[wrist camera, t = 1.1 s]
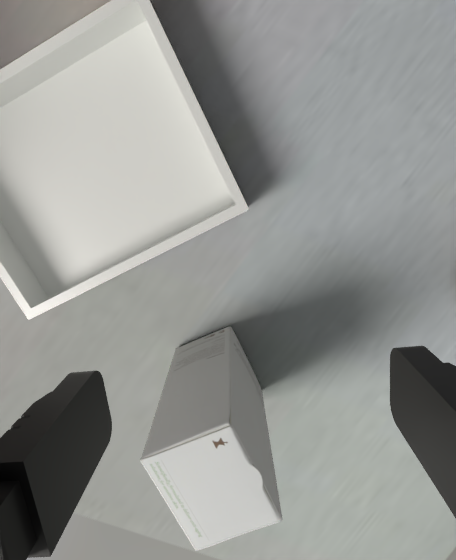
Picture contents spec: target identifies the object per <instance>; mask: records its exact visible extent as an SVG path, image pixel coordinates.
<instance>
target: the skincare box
mask: <svg viewBox="0 0 456 560" xmlns="http://www.w3.org/2000/svg"><path fill="white" fill-rule="evenodd" d="M140 461H141V463H142V464H143V466H144V468H145V469H146V471H147V472H148V474H149V475H150V477H151V479H152V480H153V482H154V484H155V485H156V487H157V488H158V490H159V492H160V493H161V495H162V497H163V498H164V500H165V501H166V503H167V505H168V506H169V508H170V510H171V511H172V513H173V515H174V516H175V518H176V520H177V521H178V523H179V524H180V526H181V528H182V529H183V531H184V533H185V534H186V536H187V537H188V539H189V541H190V542H191V544H192V546H193V547H194V549H195V550H196V551H198V550H200V549H204V548H207V547H210V546H212V545H215V544H218V543H221V542H223V541H226V540H228V539H231V538H234V537H237V536H239V535H242V534H245V533H248V532H251V531H254V530H257V529H260V528H263V527H266V526H269V525H272V524H275V523H278V522H281V521H282V514H281V508H280V502H279V495H278V489H277V483H276V476H275V470H274V464H273V458H272V452H271V445H270V439H269V433H268V427H267V421H266V415H265V408H264V401H263V394H262V389H261V386H260V384H259V382H258V380H257V378H256V376H255V373H254V371H253V369H252V367H251V365H250V363H249V361H248V359H247V357H246V355H245V353H244V351H243V349H242V347H241V345H240V343H239V340H238V339H237V337H236V335H235V333H234V331H233V329H232V327H230V326H229V327H226V328H224V329H222V330H219V331H217V332H214V333H212V334H209V335H207V336H205V337H202V338H200V339H197V340H195V341H193V342H190V343H188V344H186V345H183V346H181V347H178V348H176V350H175V353H174V356H173V359H172V362H171V365H170V369H169V372H168V375H167V378H166V381H165V384H164V388H163V391H162V394H161V397H160V400H159V403H158V407H157V410H156V413H155V416H154V419H153V422H152V425H151V429H150V432H149V435H148V439H147V442H146V444H145V448H144V451H143V454H142V457H141V459H140Z"/></svg>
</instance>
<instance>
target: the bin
mask: <svg viewBox="0 0 456 560" xmlns="http://www.w3.org/2000/svg"><path fill="white" fill-rule="evenodd" d="M248 210H249V208H248V205H247V203H246V201H245V199H244V197H243V195H242V193H241V191H240V189H239V187H238V184H237V182H236V180H235V178H234V176H233V174H232V172H231V170H230V168H229V166H228V163H227V161H226V159H225V157H224V155H223V153H222V151H221V149H220V147H219V145H218V142H217V140H216V138H215V136H214V134H213V132H212V130H211V128H210V126H209V124H208V121H207V119H206V117H205V115H204V113H203V111H202V109H201V107H200V105H199V103H198V100H197V98H196V96H195V94H194V92H193V90H192V88H191V86H190V84H189V82H188V79H187V77H186V75H185V73H184V71H183V69H182V67H181V65H180V63H179V61H178V58H177V56H176V54H175V52H174V50H173V48H172V46H171V44H170V42H169V40H168V37H167V35H166V33H165V31H164V29H163V27H162V25H161V23H160V21H159V19H158V16H157V14H156V12H155V10H154V8H153V6H152V4H151V2H150V0H111V1H110V2H108V3H106V4H105V5H103V6H101V7H100V8H98V9H97V10H95V11H93V12H92V13H90V14H89V15H87V16H85V17H84V18H82V19H81V20H79V21H77V22H76V23H74V24H72V25H71V26H69V27H68V28H66V29H64V30H63V31H61V32H60V33H58V34H56V35H55V36H53V37H52V38H50V39H48V40H47V41H45V42H43V43H42V44H40V45H39V46H37V47H35V48H34V49H32V50H31V51H29V52H27V53H26V54H24V55H23V56H21V57H19V58H18V59H16V60H14V61H13V62H11V63H10V64H8V65H6V66H5V67H3V68H2V69H0V277H1V279H2V280H3V282H4V283H5V285H6V286H7V288H8V290H9V291H10V293H11V294H12V296H13V297H14V299H15V300H16V302H17V303H18V305H19V306H20V308H21V309H22V311H23V312H24V314H25V315H26V317H27V318H28V320H29V319H31V318H33V317H35V316H37V315H39V314H41V313H43V312H45V311H47V310H49V309H51V308H54V307H56V306H58V305H60V304H62V303H64V302H66V301H68V300H70V299H72V298H74V297H76V296H78V295H80V294H82V293H84V292H86V291H88V290H90V289H92V288H94V287H96V286H98V285H100V284H102V283H104V282H106V281H108V280H110V279H112V278H114V277H116V276H118V275H120V274H122V273H124V272H126V271H128V270H130V269H132V268H134V267H136V266H138V265H140V264H142V263H144V262H146V261H148V260H150V259H152V258H154V257H156V256H158V255H160V254H162V253H164V252H166V251H168V250H170V249H172V248H174V247H176V246H178V245H180V244H182V243H184V242H186V241H188V240H190V239H192V238H194V237H196V236H198V235H200V234H202V233H204V232H206V231H208V230H210V229H212V228H214V227H216V226H218V225H220V224H222V223H224V222H226V221H228V220H230V219H232V218H234V217H236V216H238V215H240V214H242V213H244V212H246V211H248Z"/></svg>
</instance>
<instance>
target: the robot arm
mask: <svg viewBox="0 0 456 560" xmlns="http://www.w3.org/2000/svg"><path fill="white" fill-rule="evenodd" d="M390 406H391V411H392V415H393V418H394V421H395V423H396V425H397V427H398V428H399V430H400V431H401V433H402V435H403V436H404V438H405V439H406V441H407V442H408V444H409V446H410V447H411V449H412V450H413V452H414V453H415V455H416V457H417V458H418V460H419V461H420V463H421V464H422V466H423V468H424V469H425V471H426V472H427V474H428V475H429V477H430V478H431V480H432V482H433V483H434V485H435V486H436V488H437V489H438V491H439V493H440V494H441V496H442V497H443V499H444V500H445V502H446V504H447V505H448V507H449V508H450V510H451V511H452V513H453V515H454V516H455V518H456V366H454V365H452V364H450V363H443V362H441V361H440V360H439V359H438V358H437V357H436V356H435V355H434V354H433V353H431V352H430V351H429V350H428V349H427V348H426V347H424V346H414V347H401V348H393V349H392V351H391V355H390ZM111 431H112V421H111V415H110V410H109V406H108V401H107V396H106V391H105V387H104V382H103V378H102V375H101V373H100V372H99V371H87V372H74V373H70V374H68V375H67V376H66V377H65V379H64V380H63V381H62V382H61V383H60V384H59V385H58V386H57V387H56V388H55V390H54V391H53V392H50V393H48V394H47V395H45V396H44V397H42V398H41V399H39V400H38V401H36V402H35V403H33V404H32V405H31V406H30V407H29V408H28V410H27V411H26V412H25V413H24V414H23V415H22V416H21V419H18V420H17V421H16V422H15V423H14V424H13V425H12V426H11V430H8V431H7V432H6V433H5V434H4V435H3V436H2V437H1V438H0V560H26V559H27V558H28V557H29V558H30V557H50V556H51V555H52V553H53V551H54V549H55V547H56V545H57V543H58V541H59V539H60V537H61V535H62V533H63V531H64V529H65V527H66V525H67V523H68V521H69V519H70V518H71V516H72V514H73V512H74V510H75V508H76V506H77V504H78V502H79V500H80V498H81V496H82V494H83V492H84V490H85V488H86V486H87V485H88V483H89V481H90V479H91V477H92V475H93V473H94V471H95V469H96V467H97V465H98V463H99V461H100V459H101V457H102V455H103V453H104V451H105V449H106V448H107V446H108V443H109V441H110V437H111Z"/></svg>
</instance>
